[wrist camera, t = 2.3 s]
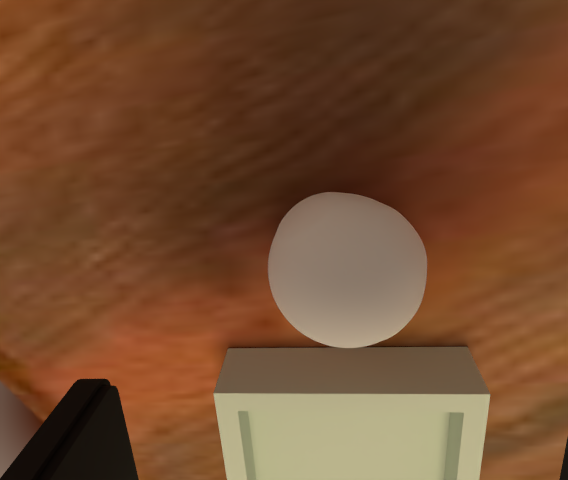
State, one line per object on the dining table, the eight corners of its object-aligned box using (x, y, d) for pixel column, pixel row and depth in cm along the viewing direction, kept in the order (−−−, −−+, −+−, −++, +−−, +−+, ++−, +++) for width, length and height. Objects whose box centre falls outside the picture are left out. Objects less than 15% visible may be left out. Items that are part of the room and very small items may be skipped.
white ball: (438, 244, 16) (483, 320, 12) (335, 318, 18) (339, 411, 13) (350, 141, 15) (361, 181, 11) (248, 230, 17) (219, 298, 12)
